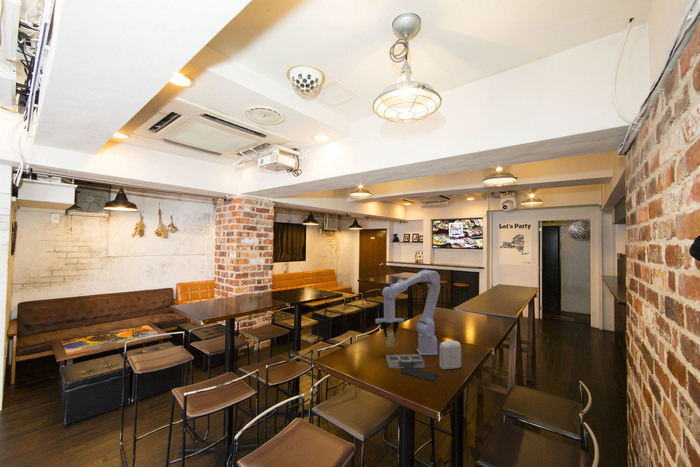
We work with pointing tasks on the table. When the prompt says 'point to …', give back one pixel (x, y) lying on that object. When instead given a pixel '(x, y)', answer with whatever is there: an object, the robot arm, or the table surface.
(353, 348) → the table surface
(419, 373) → the phone
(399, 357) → the slotted metal bracket
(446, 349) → the photo printer
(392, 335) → the tan block with hole
